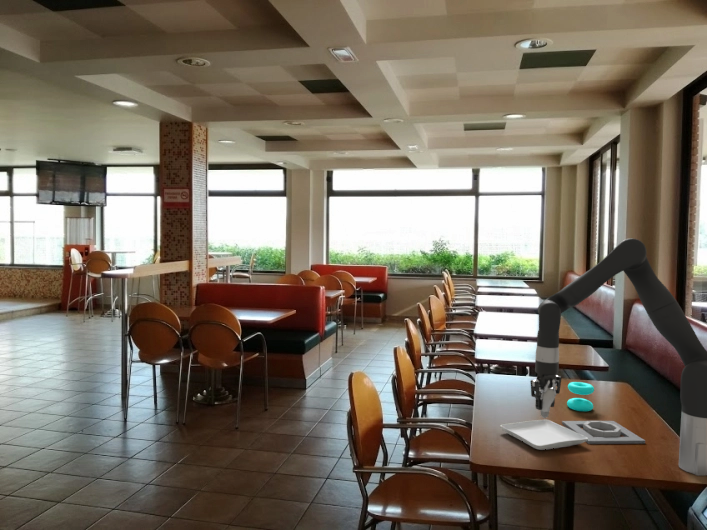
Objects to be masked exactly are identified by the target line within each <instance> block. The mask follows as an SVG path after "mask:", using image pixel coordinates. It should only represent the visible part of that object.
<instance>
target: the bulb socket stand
mask: <svg viewBox="0 0 707 530" xmlns="http://www.w3.org/2000/svg"><path fill="white" fill-rule="evenodd" d="M561 424H562V426H563V427H566V428H568V429H570V430H572V431H574V432H576V433H579V434H581V435H583V436H585V437H587V438H588V440H587V441H585V442H586V443H587V444H588V445H600V444H601V445H605V444H607V445H611V444H612V445H614V444H619V445H620V444H621V445H622V444H624V445H625V444H627V445H628V444H631V445H632V444H635V445H636V444H646V440H645V439H644V438H642V437H640V436H639V435H637V434H635V433H634V432H632V431H631V430H629V429H627V428H626V427H624V426H623V425H621V424H620V423H618V422H617V421H615V420H561ZM585 442H584V443H585Z"/></svg>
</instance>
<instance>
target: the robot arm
mask: <svg viewBox="0 0 707 530" xmlns="http://www.w3.org/2000/svg"><path fill="white" fill-rule="evenodd" d="M621 272H623V273H624V274H625V275H626V276H627V278H628V279H629V281H630V283H632V285H633V287H634V289H635V291H636V293H637V295H638V298H639V300H640V302H641V304H642V307H643V309H644V311H645V312H646V314H647V316H648V317H649V319H650V321H651V323H652V324H653V326H654V327H655V329H656V330H657V332H658V333H659V334H660V335H661V336H662V337H663V338H664V339H665V340H666V341H667V342H668V343H669V344H670V345H671V346H672V347H673V348H674V350H675V351H676V352H677V354H678V356H679V357H680V359H681V361H682V363H683V366H684V367H683V368H682V371H681V375H680V394H679V397H680V404H681V413H680V414H681V415H680V416H681V418H680V432H679V448H678V449H679V451H678V453H679V454H678V467H679V469H681V470H683V471H684V472H687V473H690V474H693V475H695V476H707V349H706V348H705V347H704V346H703V344H702V343H701V341H700V339H699V337H698V336H697V334H696V332H695V330H694V328H693V327H692V324H691V323H690V321H689V319H688V318H687V316H686V314H685V312H684V311H683V309H682V307H681V306H680V304H679V302H678V301H677V299H676V298H675V297H674V295H673V294H672V293H671V291H670V290H669V289H668V287H667V286H665V285H664V284H663V282H662V281H661V280H660V279H659V278H658V276H657V274H655V271H654V270H653V268H652V266H651V263H650V262H649V260H648V257H647V248H646V245H645V243H644V242H643V241H641V240H639V239H636V238H632V237H631V238H625V239H623V240H622V241H620V242H619V243H618V244H617V245H616V246H615V247H614V249H612V250H611V251H610V253H608V254H607V255H606V256H605V257H604V258H603V259H602V260H601V261H600V260H599V262H598V263H597V264H596V265H594V266H593V267H591V268H590V269H589V270H587V271H585V272H584V273H582V274H581V275H580V276H579V277H577V278H575V279H574V280H573V281H572V282H570V283H568V284H567V285H566V286H564V287H563V288H562V289H560V290H559V291H558V292H556V293H554V294H552V295H550V296H548V297H547V298H546V299H544V300H543V301H542V302H540V304H539V305H538V307H537V313H538V331H537V336H536V337H537V338H536V350H535V361H534V362H535V365H534V367H535V368H534V372H535V373H536V374H537V376H536V379H530V381H529V382H530V394H531V397H533V398H535V409H536V410H538V411H541V410H542V408H543V396H544V393H546V391H547V388H551V389H552V390H553V391H554V393H555V398H554V401H553V402H552V404H551V406H550V408H554V407H555V404H556V402H555V400H556V397H557V395H558V394H560V390H561V385H562V376H561V375H558V374H559V369H560V368H559V365H560V364H559V362H560V350H559V349H560V348H559V347H560V346H559V345H560V328H561V319H562V314H564V312H565V311H567V310H569V309H570V308H574V307H576V306H577V305H580V304H581V303H582V302H584V301H585V300H586V299H588V298H589V297H590V296H592V295H593V294H594V293H596V292H597V291H598V290H599V289H600V288H601V287H603V286H604V284H605V283H607V282H608V281H609V280H611V279H612V278H613V277H615V276H617V275H618V274H620V273H621ZM539 388H541V389H543V390H541V389H539ZM539 392H541V394H540V395H539Z"/></svg>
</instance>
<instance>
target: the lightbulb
mask: <svg viewBox="0 0 707 530" xmlns="http://www.w3.org/2000/svg"><path fill="white" fill-rule="evenodd" d="M539 389H541V388H539ZM541 390H543V389H541ZM540 394H541V392H539V395H540ZM554 398H555V399H556V396H555V393H554V391H553V390H552V389H551V388H547V391H546V393H544V396H543V408H542V410H540V416H541V417H542V418H543V419H547V418H548V417H549V414H550V410H551V407H550V406H551V404H552V402H553V401H554Z"/></svg>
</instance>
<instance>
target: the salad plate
mask: <svg viewBox="0 0 707 530" xmlns="http://www.w3.org/2000/svg"><path fill="white" fill-rule="evenodd" d="M499 428H500V429H501V430H502V431H504V432H505V433H507V434H508V435H510V436H511V437H513V438H515V439H517V440H519V441H521V442H522V441H523V443H524V444H526V445H528V446H530V447H532V448H533V449H536V450H538V451H539V450H540V451H543V450H544V451H545V449H546V450H551V449H552V450H554V449H559V448H560V449H561V448H566V447H572V446H575V445H576V446H577V445H580V444H583V443H585V441H587V440H588V438H587V437H585V436H583V435H581V434H579V433H576V432H574V431H572V430H570V429H568V428H567V427H566V426H564V425H561V424H558V423H556V422H554V421H552V420H550V419H547V418H544V419H536V420H535V419H534V420H526V421H525V420H524V421H518V422H511V423H510V422H509V423H504V424H500V427H499ZM553 448H554V449H553Z"/></svg>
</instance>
